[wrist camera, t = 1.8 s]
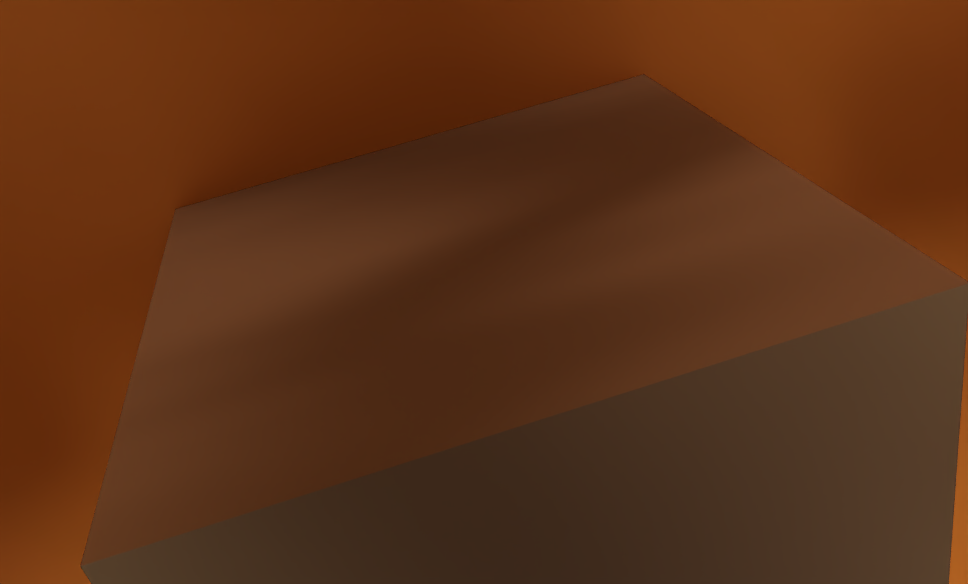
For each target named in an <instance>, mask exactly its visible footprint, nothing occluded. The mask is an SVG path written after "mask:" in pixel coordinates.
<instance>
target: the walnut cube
mask: <svg viewBox="0 0 968 584" xmlns="http://www.w3.org/2000/svg"><path fill="white" fill-rule="evenodd" d="M967 315H968V281H966V280H965V279H963V278H961V277H960V276H958V275H957V274H955V273H954V272H952V271H950V270H949V269H947V268H946V267H944V266H943V265H941V264H940V263H938V262H936V261H935V260H933V259H932V258H930V257H929V256H927V255H925V254H924V253H922V252H921V251H919V250H918V249H916V248H915V247H913V246H911V245H910V244H908V243H907V242H905V241H904V240H902V239H900V238H899V237H897V236H896V235H894V234H893V233H891V232H890V231H888V230H886V229H885V228H883V227H882V226H880V225H879V224H877V223H875V222H874V221H872V220H871V219H869V218H868V217H866V216H865V215H863V214H861V213H860V212H858V211H857V210H855V209H854V208H852V207H851V206H849V205H847V204H846V203H844V202H843V201H841V200H840V199H838V198H836V197H835V196H833V195H832V194H830V193H829V192H827V191H826V190H824V189H822V188H821V187H819V186H818V185H816V184H815V183H813V182H811V181H810V180H808V179H807V178H805V177H804V176H802V175H801V174H799V173H797V172H796V171H794V170H793V169H791V168H790V167H788V166H786V165H785V164H783V163H782V162H780V161H779V160H777V159H776V158H774V157H772V156H771V155H769V154H768V153H766V152H765V151H763V150H761V149H760V148H758V147H757V146H755V145H754V144H752V143H751V142H749V141H747V140H746V139H744V138H743V137H741V136H740V135H738V134H737V133H735V132H733V131H732V130H730V129H729V128H727V127H726V126H724V125H722V124H721V123H719V122H718V121H716V120H715V119H713V118H712V117H710V116H708V115H707V114H705V113H704V112H702V111H701V110H699V109H697V108H696V107H694V106H693V105H691V104H690V103H688V102H687V101H685V100H683V99H682V98H680V97H679V96H677V95H676V94H674V93H672V92H671V91H669V90H668V89H666V88H665V87H663V86H662V85H660V84H658V83H657V82H655V81H654V80H652V79H651V78H649V77H647V76H646V75H644V74H643V75H640V76H636V77H633V78H629V79H626V80H622V81H619V82H615V83H612V84H608V85H605V86H601V87H598V88H595V89H591V90H588V91H584V92H581V93H577V94H574V95H570V96H567V97H563V98H560V99H556V100H553V101H549V102H546V103H542V104H539V105H535V106H532V107H529V108H525V109H522V110H518V111H515V112H511V113H508V114H504V115H501V116H497V117H494V118H490V119H487V120H483V121H480V122H476V123H473V124H469V125H466V126H463V127H459V128H456V129H452V130H449V131H445V132H442V133H438V134H435V135H431V136H428V137H424V138H421V139H417V140H414V141H410V142H407V143H404V144H400V145H397V146H393V147H390V148H386V149H383V150H379V151H376V152H372V153H369V154H365V155H362V156H358V157H355V158H351V159H348V160H344V161H341V162H338V163H334V164H331V165H327V166H324V167H320V168H317V169H313V170H310V171H306V172H303V173H299V174H296V175H292V176H289V177H285V178H282V179H278V180H275V181H272V182H268V183H265V184H261V185H258V186H254V187H251V188H247V189H244V190H240V191H237V192H233V193H230V194H226V195H223V196H219V197H216V198H213V199H209V200H206V201H202V202H199V203H195V204H192V205H188V206H185V207H181V208H178V209H175V213H174V216H173V220H172V224H171V228H170V231H169V235H168V239H167V243H166V246H165V250H164V254H163V258H162V261H161V265H160V269H159V273H158V277H157V280H156V284H155V288H154V292H153V295H152V299H151V303H150V307H149V310H148V314H147V318H146V322H145V325H144V329H143V333H142V337H141V340H140V344H139V348H138V352H137V355H136V359H135V363H134V367H133V370H132V374H131V378H130V382H129V385H128V389H127V393H126V397H125V400H124V404H123V408H122V412H121V415H120V419H119V423H118V427H117V430H116V434H115V438H114V442H113V445H112V449H111V453H110V457H109V460H108V464H107V468H106V472H105V475H104V479H103V483H102V487H101V491H100V494H99V498H98V502H97V506H96V509H95V513H94V517H93V521H92V524H91V528H90V532H89V536H88V539H87V543H86V547H85V551H84V554H83V558H82V562H81V568H82V570H83V571H84V573H85V574H86V576H87V577H88V579H89V580H90V582H91V583H92V584H949V571H950V557H951V542H952V528H953V514H954V500H955V486H956V471H957V457H958V443H959V429H960V415H961V400H962V386H963V372H964V358H965V344H966V329H967Z"/></svg>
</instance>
